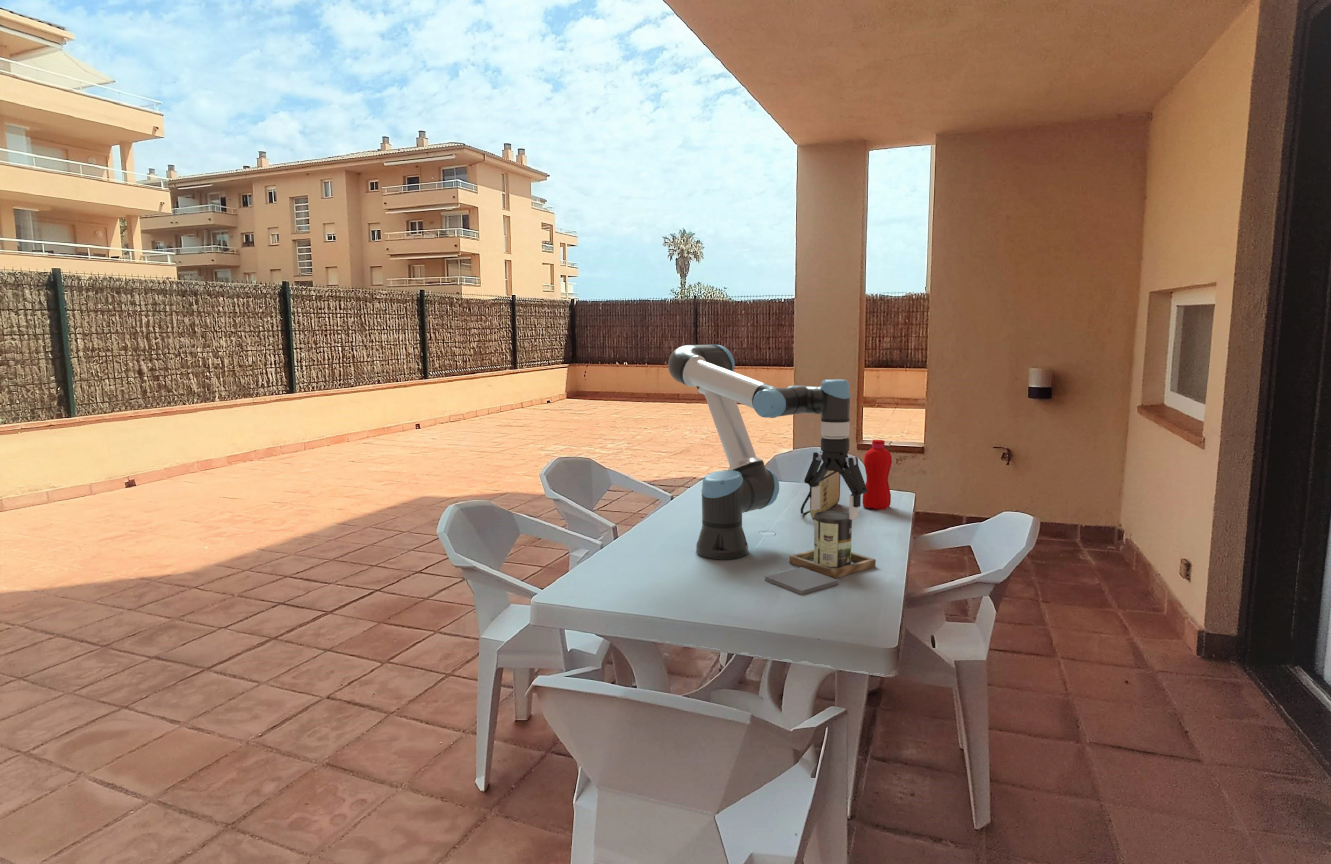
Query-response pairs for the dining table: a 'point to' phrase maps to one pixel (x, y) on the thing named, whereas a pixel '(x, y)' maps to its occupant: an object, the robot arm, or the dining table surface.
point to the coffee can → (832, 539)
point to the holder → (833, 573)
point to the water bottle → (877, 476)
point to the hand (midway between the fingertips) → (834, 514)
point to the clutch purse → (826, 492)
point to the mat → (801, 580)
